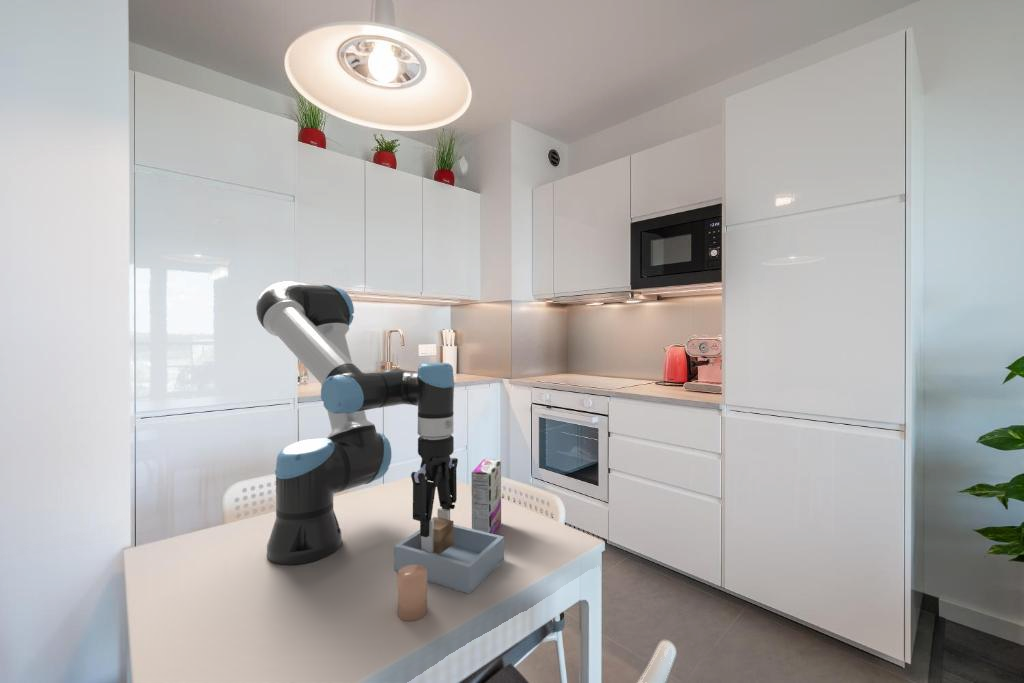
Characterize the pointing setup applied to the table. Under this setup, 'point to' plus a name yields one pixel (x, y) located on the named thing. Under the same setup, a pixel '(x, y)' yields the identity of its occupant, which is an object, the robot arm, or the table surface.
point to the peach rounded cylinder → (412, 592)
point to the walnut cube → (442, 535)
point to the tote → (454, 558)
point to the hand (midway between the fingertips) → (435, 544)
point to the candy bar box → (486, 496)
